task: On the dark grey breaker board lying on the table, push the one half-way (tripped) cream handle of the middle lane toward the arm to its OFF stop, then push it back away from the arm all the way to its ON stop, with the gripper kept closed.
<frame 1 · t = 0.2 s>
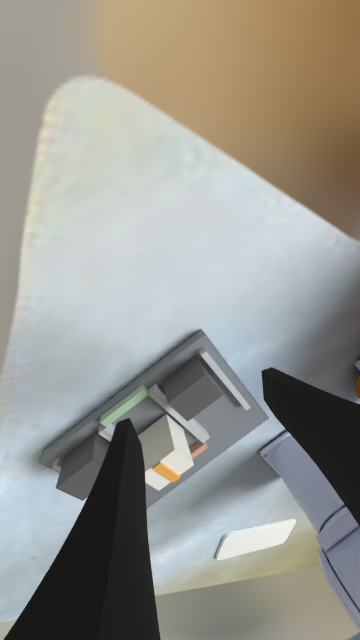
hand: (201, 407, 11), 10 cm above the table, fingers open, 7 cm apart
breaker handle: (163, 451, 20), point 4 cm above the table, slide at 3.0 cm
smartphone: (254, 533, 40), on the table
breaker board: (168, 430, 25), on the table
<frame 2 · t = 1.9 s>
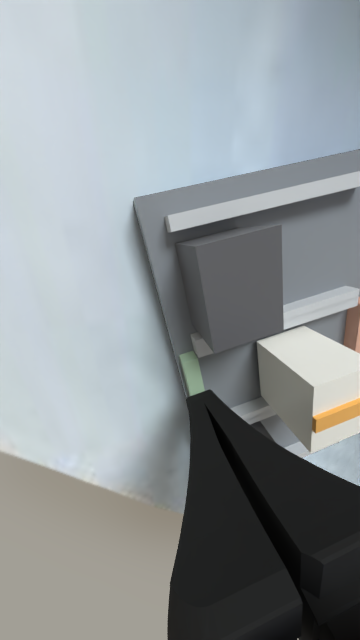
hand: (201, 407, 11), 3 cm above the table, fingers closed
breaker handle: (308, 383, 11), point 4 cm above the table, slide at 3.0 cm
breaker board: (292, 341, 15), on the table
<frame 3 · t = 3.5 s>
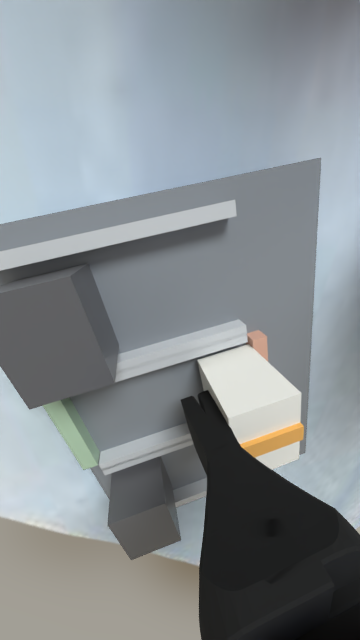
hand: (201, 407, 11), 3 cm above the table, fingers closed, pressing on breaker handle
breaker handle: (245, 407, 11), point 4 cm above the table, slide at -0.3 cm, touching breaker board, gripper
breaker board: (198, 372, 14), on the table
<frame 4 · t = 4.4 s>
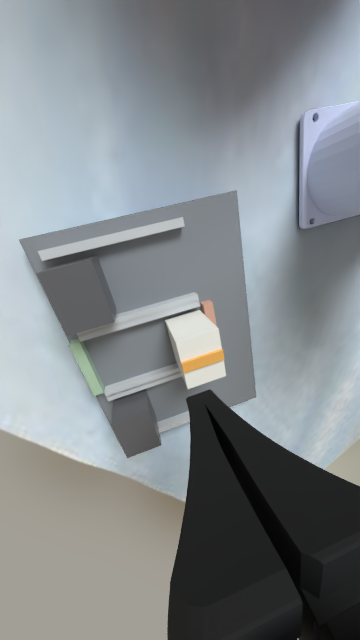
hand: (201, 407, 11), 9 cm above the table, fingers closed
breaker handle: (194, 347, 17), point 4 cm above the table, slide at 0.0 cm
breaker board: (172, 332, 20), on the table
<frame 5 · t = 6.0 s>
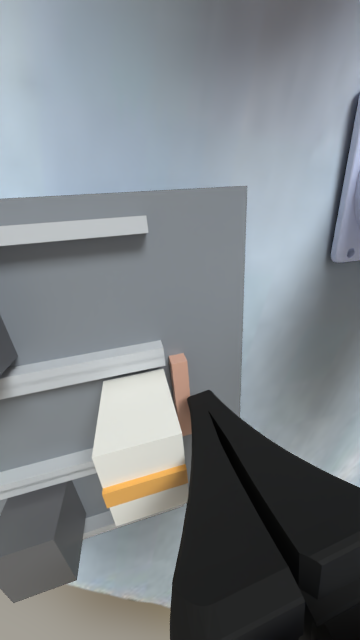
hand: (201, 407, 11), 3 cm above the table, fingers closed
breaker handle: (143, 438, 10), point 4 cm above the table, slide at 0.1 cm, touching gripper
breaker board: (123, 390, 13), on the table
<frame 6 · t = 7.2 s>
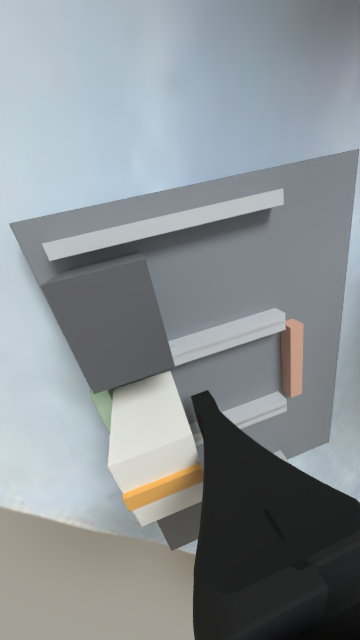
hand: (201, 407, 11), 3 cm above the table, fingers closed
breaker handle: (158, 440, 10), point 4 cm above the table, slide at 6.4 cm, touching gripper
breaker board: (230, 362, 14), on the table
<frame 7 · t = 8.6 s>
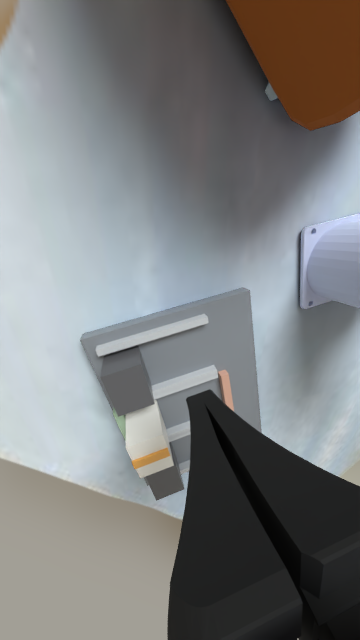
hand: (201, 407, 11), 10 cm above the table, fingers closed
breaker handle: (148, 437, 19), point 4 cm above the table, slide at 6.3 cm
breaker board: (192, 391, 23), on the table
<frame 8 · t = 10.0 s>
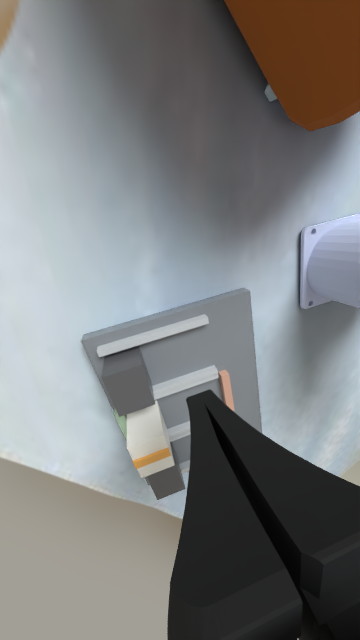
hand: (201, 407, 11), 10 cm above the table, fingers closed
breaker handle: (149, 437, 19), point 4 cm above the table, slide at 6.3 cm
breaker board: (193, 392, 23), on the table
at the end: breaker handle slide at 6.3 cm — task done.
